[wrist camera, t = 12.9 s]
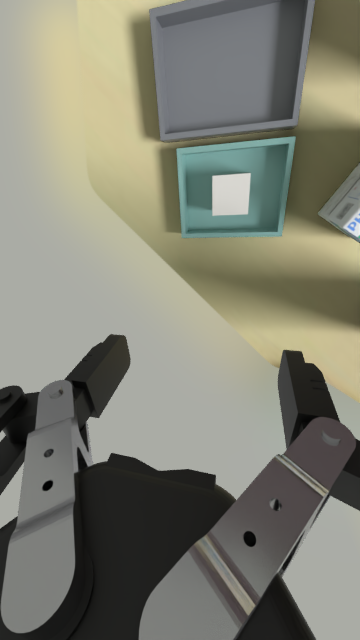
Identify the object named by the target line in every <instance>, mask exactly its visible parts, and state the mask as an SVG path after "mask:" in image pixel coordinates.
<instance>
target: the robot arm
mask: <svg viewBox="0 0 360 640" xmlns="http://www.w3.org/2000/svg"><path fill="white" fill-rule="evenodd" d="M129 366H130V354H129V349H128V345H127V340H126V337H125V336H124V335H113V334H111V335H109V336H108V337H107V338H106V340H105V341H104V342H103V343H99V344H98V345H96V346H95V347H93V348H92V349H91V350H90V351H89V352H88V354H87V355H86V356H85V357H84V358H83V359H82V361H80V363H79V364H78V365H77V366H76V367H75V368H74V369H73V370H72V372H71V373H70V374H69V375H68V376H67V377H66V378H65V380H59V381H55V382H52V383H50V384H49V385H47V386H46V387H44V388H43V389H42V390H41V392H36V393H27V394H24V392H23V390H22V389H21V388H20V387H19V386H8V387H5V388H3V389H0V432H1V431H2V430H3V431H4V433H5V434H6V436H5V437H4V438H3V440H2V441H1V442H0V495H1V493H2V492H3V491H4V489H5V488H6V486H7V485H8V484H9V482H10V481H11V479H12V478H13V477H14V475H15V474H16V472H17V471H18V469H19V468H20V467H21V465H22V464H23V462H24V469H23V477H22V486H21V495H20V502H19V511H18V516H17V517H16V518H14V519H13V520H12V521H10V522H9V523H8V524H6V525H5V526H3V527H2V528H1V529H0V640H316V638H315V637H314V635H313V633H312V631H311V629H310V628H309V626H308V624H307V622H306V620H305V619H304V617H303V615H302V613H301V611H300V610H299V608H298V606H297V604H296V602H295V600H294V599H293V597H292V595H291V593H290V591H289V590H288V588H287V586H286V584H285V582H284V580H283V579H282V576H283V575H284V573H285V572H286V570H287V568H288V567H289V565H290V563H291V562H292V560H293V558H294V557H295V555H296V553H297V552H298V550H299V548H300V546H301V545H302V543H303V541H304V539H305V538H306V536H307V534H308V532H309V531H310V529H311V527H312V526H313V524H314V522H315V521H316V519H317V518H318V516H319V514H320V513H321V511H322V509H323V507H324V506H325V504H326V503H327V501H328V499H329V498H330V496H333V497H334V498H336V499H338V500H340V501H342V502H344V503H346V504H348V505H350V506H352V507H353V508H356V509H358V510H359V511H360V441H359V440H357V439H355V437H354V436H353V434H352V432H351V431H350V430H349V429H348V428H347V427H346V426H345V425H343V424H342V423H340V420H339V418H338V415H337V412H336V410H335V407H334V404H333V401H332V399H331V396H330V393H329V391H328V388H327V385H326V383H325V379H324V377H323V374H322V372H321V371H320V370H319V369H318V368H317V367H316V366H315V365H314V364H312V363H305V361H304V357H303V354H302V352H301V351H291V350H283V353H282V358H281V364H280V369H279V375H278V390H279V398H280V405H281V412H282V419H283V426H284V433H285V440H286V448H287V450H286V451H285V453H284V454H283V455H279V454H278V455H276V456H275V457H274V458H273V459H272V460H271V461H270V462H269V463H268V464H267V466H266V467H265V468H264V469H263V470H262V471H261V473H260V474H259V475H258V476H257V477H256V478H255V479H254V481H253V482H252V483H251V484H250V485H249V487H248V488H247V489H246V490H245V491H244V492H243V493H242V494H241V496H240V497H239V498H238V499H237V500H236V499H235V498H234V497H233V496H232V495H231V494H230V493H228V492H227V491H226V490H224V489H223V488H222V487H220V486H218V485H216V475H213V474H208V473H203V472H199V471H194V470H189V469H184V470H167V471H158V470H156V469H154V468H152V467H150V466H149V465H147V464H145V463H143V462H141V461H140V460H138V459H136V458H133V457H128V456H123V455H119V454H114V453H111V455H110V457H109V459H108V461H107V462H101V463H97V464H93V461H92V455H91V447H90V440H89V431H88V424H87V422H86V421H87V420H88V418H89V417H96V418H99V417H100V415H101V413H102V412H103V410H104V408H105V407H106V405H107V403H108V402H109V400H110V399H111V397H112V395H113V394H114V392H115V390H116V389H117V387H118V385H119V383H120V382H121V380H122V379H123V377H124V375H125V374H126V372H127V370H128V368H129Z"/></svg>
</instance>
